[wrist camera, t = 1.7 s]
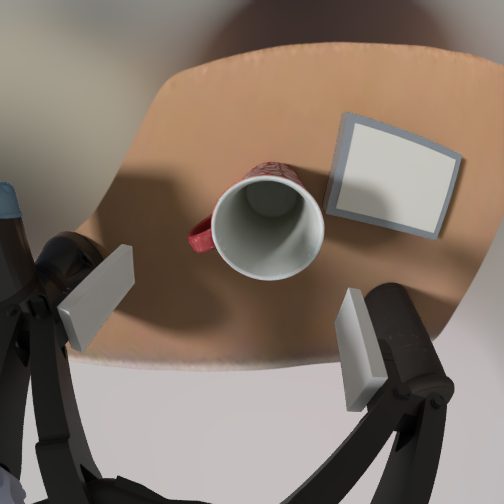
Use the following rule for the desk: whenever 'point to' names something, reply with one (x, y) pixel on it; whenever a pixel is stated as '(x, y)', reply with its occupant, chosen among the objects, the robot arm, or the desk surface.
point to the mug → (264, 225)
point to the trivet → (390, 177)
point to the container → (407, 340)
